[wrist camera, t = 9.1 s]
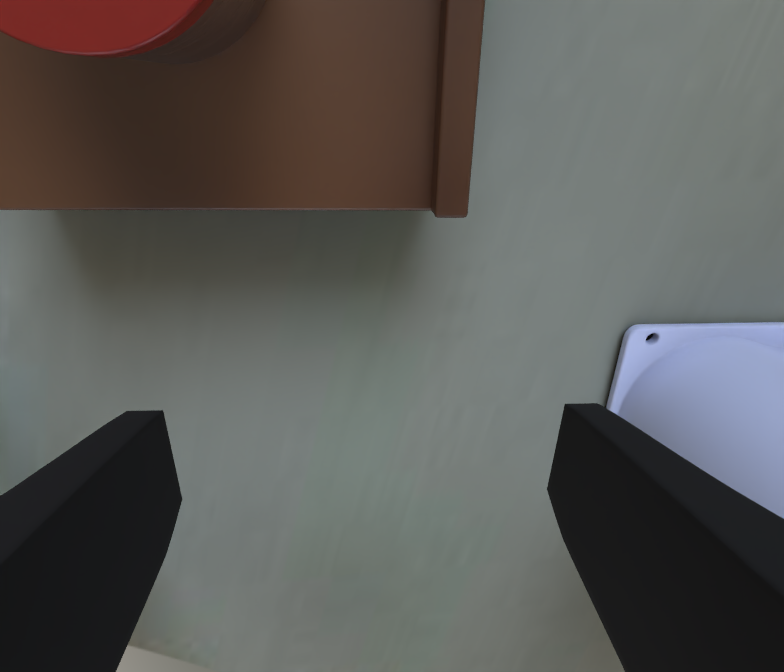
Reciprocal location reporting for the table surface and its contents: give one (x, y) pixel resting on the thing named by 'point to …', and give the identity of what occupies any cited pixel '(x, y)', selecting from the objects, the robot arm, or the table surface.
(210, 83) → the rack
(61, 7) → the spice tin
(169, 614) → the table surface
